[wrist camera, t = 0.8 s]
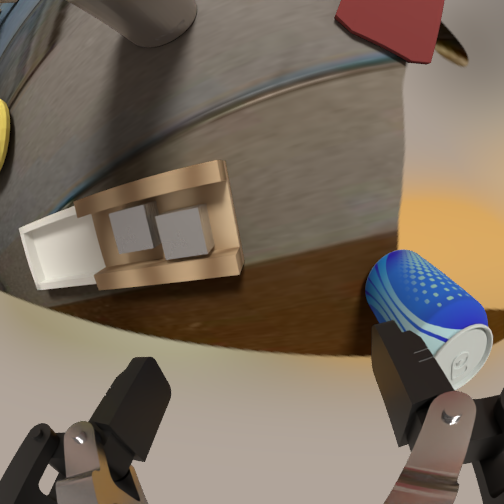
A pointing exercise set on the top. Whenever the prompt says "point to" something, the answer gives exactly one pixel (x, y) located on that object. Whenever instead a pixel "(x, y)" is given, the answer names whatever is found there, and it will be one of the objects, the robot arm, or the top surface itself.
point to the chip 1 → (136, 228)
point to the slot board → (167, 198)
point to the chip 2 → (185, 232)
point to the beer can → (431, 312)
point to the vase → (4, 131)
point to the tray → (62, 250)
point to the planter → (7, 1)
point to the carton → (395, 25)
